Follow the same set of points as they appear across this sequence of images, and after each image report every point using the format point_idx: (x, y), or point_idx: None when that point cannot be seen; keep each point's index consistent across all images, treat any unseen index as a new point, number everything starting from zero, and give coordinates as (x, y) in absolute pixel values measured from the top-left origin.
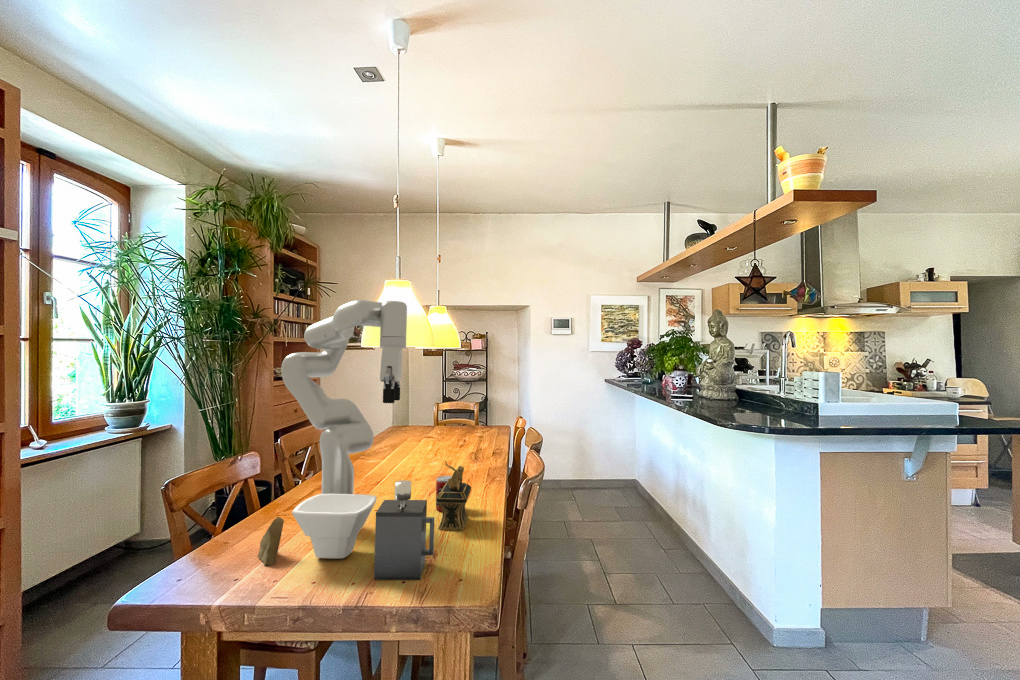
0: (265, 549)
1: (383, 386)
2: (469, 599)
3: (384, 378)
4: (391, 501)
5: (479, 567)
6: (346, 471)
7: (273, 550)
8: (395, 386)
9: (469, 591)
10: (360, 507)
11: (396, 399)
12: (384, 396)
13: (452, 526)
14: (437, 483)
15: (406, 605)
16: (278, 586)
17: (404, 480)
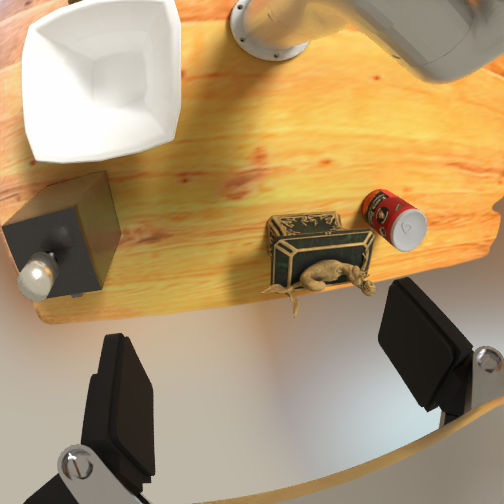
0: None
1: (58, 468)
2: (45, 305)
3: (493, 425)
4: (67, 226)
5: (124, 303)
6: (289, 20)
7: (72, 2)
8: (444, 394)
9: (60, 303)
10: (160, 104)
11: (383, 328)
12: (102, 384)
13: (270, 242)
14: (399, 211)
15: (9, 249)
16: (10, 70)
17: (46, 284)
